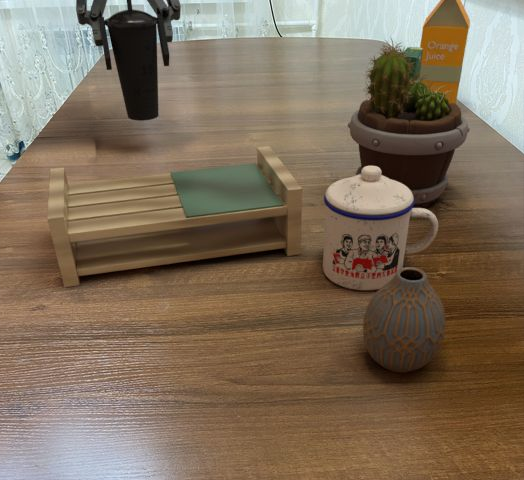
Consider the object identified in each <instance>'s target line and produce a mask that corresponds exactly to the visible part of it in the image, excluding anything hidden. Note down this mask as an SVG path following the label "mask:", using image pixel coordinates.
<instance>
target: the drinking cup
mask: <svg viewBox="0 0 524 480" xmlns="http://www.w3.org/2000/svg"><path fill="white" fill-rule="evenodd" d="M132 3H133V2H132V0H126V8H127V9H124V10H120V11H117V12H115V13H113V14H112V15H111V16H109V17H107V18H105V19H104V21H105V27H106V28H107V33H108V36H109V40H110V45H111V49H112V53H113V58H114V62H115V66H116V67H115V68H116V71H117V76H118V81H119V84H120V88H121V93H122V97H123V102H124V106H125V110H126V111H125V112H126V115H127V118H128V119H129V120H131V121H138V122H139V121H143V122H144V121H150V120H154V119H156V118H158V117H159V79H158V77H159V76H158V75H159V74H158V39H157V38H158V29H157V23H158V18H157V16H154V15H152V14H150V13H149V12H147V11H143V10H140V9H133V4H132Z"/></svg>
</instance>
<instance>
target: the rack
mask: <svg viewBox="0 0 524 480" xmlns="http://www.w3.org/2000/svg"><path fill="white" fill-rule="evenodd" d="M67 178H68V177H67V173H66V168H65V167H56V168H50V169H49V184H48V185H49V187H48V202H47V216H46V217H47V218H46V219H47V223H48V228H49V231H50V235H51V241H52V244H53V247H54V248H53V249H54V252H55V256H56V259H57V264H58V267H59V270H60V276H61V279H62V282H63V287H64V288H69V287H75V286H80V277H82V276H89V275H98V274H104V273H105V274H106V273H112V272H113V273H114V272H120V271H128V270H134V269H140V268H141V269H142V268H149V267H156V266H163V265H170V264H177V263H178V264H179V263H185V262H192V261H193V262H194V261H200V260H208V259H214V258H221V257H229V256H236V255H243V254H250V253H258V252H265V251H273V250H280V249H283V251H284V253H285V254H286V256H287V257H291V256H297V255H298V256H299V255H301V253H302V215H303V214H302V213H303V208H302V207H303V188H302V186H301V185H300V184H299V183H298V181H297V180H296V178H294V176H293V175H292V173H291V172H290V171H289V170H288V168H287V167H286V166H285V165H284V163H283V162H282V161H281V159H280V158H279V156H277V154H276V153H275V152H274V150H273V149H272V148H271V147H270V146H269V145H268V146H259V147H258V146H257V147H256V162H253V163H244V164H235V165H226V166H217V167H207V168H199V169H198V168H197V169H189V170H180V171H172V172H171V171H170V173H161V174H153V175H143V176H134V177H133V176H132V177H124V178H123V177H122V178H114V179H106V180H97V181H89V182H79V183H69V182H68V179H67Z"/></svg>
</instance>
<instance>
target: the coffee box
mask: <svg viewBox="0 0 524 480" xmlns="http://www.w3.org/2000/svg"><path fill="white" fill-rule="evenodd" d="M403 51H404V52H403V53H406V54H404V56H403V58H404V57H405V55H406V56H407V55H408V56H407V57H406V58H404V59H407V60H408V59H411V60H408V62H409V64H410V63H413V62H415V63H413V65H412V64H410V65H412V66H413V67H414V68H415V70H412V71H413V72H412V71H410V72H409V79H410V80H411V77H410V76H414V75H415V76H416V77H417V76H418V77H419V78H420V70H421V61H422V53H423V48H420V46H419V47H418V46H416V47H415V46H407V47H405V49H404V50H403ZM403 53H402V54H403ZM409 54H410V55H409ZM408 57H409V58H408ZM407 60H406V61H407ZM410 67H411V66H410ZM413 67H411V68H413ZM417 69H418V70H417ZM418 72H419V73H418ZM413 73H414V74H413ZM415 73H416V74H415ZM410 74H411V75H410ZM417 74H419V75H417ZM415 76H414V78H413V77H412V78H413V81H415V80H414V79H415ZM419 78H417V81H419Z"/></svg>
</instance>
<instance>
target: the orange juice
mask: <svg viewBox="0 0 524 480" xmlns="http://www.w3.org/2000/svg"><path fill="white" fill-rule="evenodd" d="M470 25H471V19H470V17H469V15H468V13H467V10H466V9H465V7H464V4H463V2H462V0H439V1H438V3H437V4H436V5H435V7H434V8H433V9H432V11H431V12H430V13H429V14H428V16H427V17H426V18H425V20H424V22H423V25H422V30H421V31H422V32H421V37H420V43H419V44H420V45H419V48H423V53H422V61H421V70H420V77H421V78H422V77H423V76H424V75H426V76H424V77H423V78H426V79H423V80H421V82H423V83H425V84H426V85H427V86H429V87H430V91H431V88H432V92H433V91H434V90H435V89H436V88H437V89H438V88H440V87H441V86H443V87H441V88H440V89H439V90H437V92H438V93H444V92H445V93H446V92H447V91H449V92H447V93H446V96H445V97H446V98H447V99H448V98H449V96H450V98H449V100H448V101H449V103H455V104H456V105H457V99H458V94H459V88H460V82H461V77H462V73H463V72H462V71H463V65H464V60H465V54H466V47H467V42H468V35H469V29H470V27H471V26H470ZM421 78H420V79H421ZM428 81H429V82H428ZM433 82H434V83H433ZM432 83H433V84H432ZM431 84H432V85H431ZM430 85H431V86H430ZM432 86H433V87H432ZM434 87H435V88H434ZM445 90H446V91H445Z"/></svg>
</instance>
